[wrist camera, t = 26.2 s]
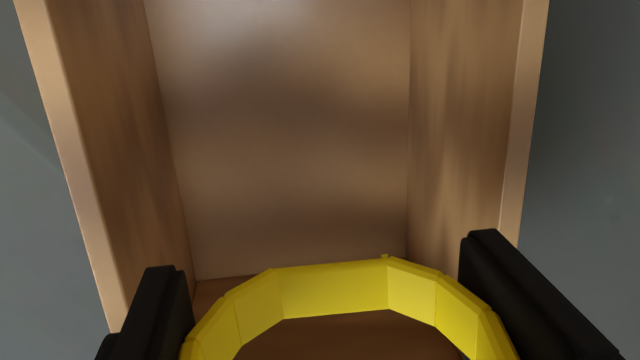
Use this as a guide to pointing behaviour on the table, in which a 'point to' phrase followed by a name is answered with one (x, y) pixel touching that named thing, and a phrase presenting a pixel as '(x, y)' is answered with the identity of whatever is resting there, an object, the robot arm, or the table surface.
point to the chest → (288, 144)
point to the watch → (349, 306)
